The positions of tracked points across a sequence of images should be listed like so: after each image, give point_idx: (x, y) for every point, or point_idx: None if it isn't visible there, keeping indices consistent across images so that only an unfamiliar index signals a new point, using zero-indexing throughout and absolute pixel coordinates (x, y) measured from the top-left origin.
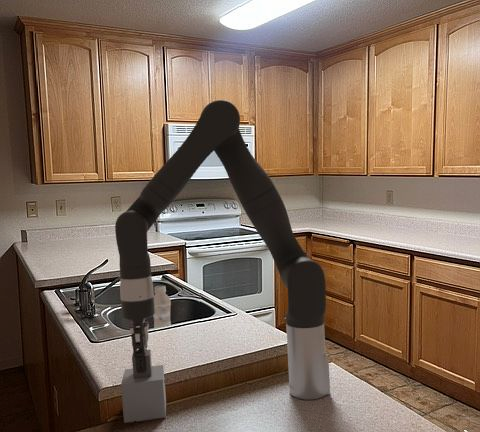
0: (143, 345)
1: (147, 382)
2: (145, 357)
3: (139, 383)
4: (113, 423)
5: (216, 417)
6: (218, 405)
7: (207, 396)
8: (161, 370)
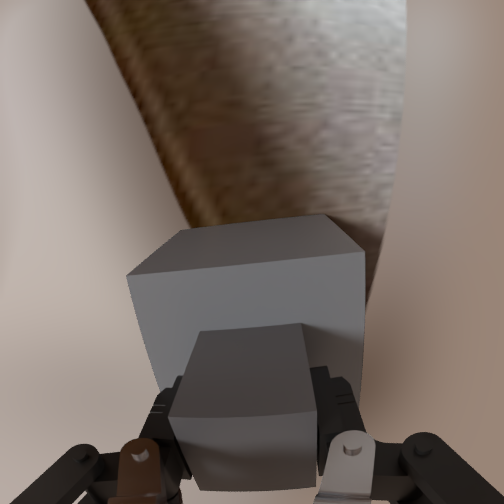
0: (496, 492)
1: (363, 328)
2: (338, 425)
3: (360, 362)
4: None
5: (345, 42)
6: (255, 34)
7: (173, 76)
8: (214, 276)
